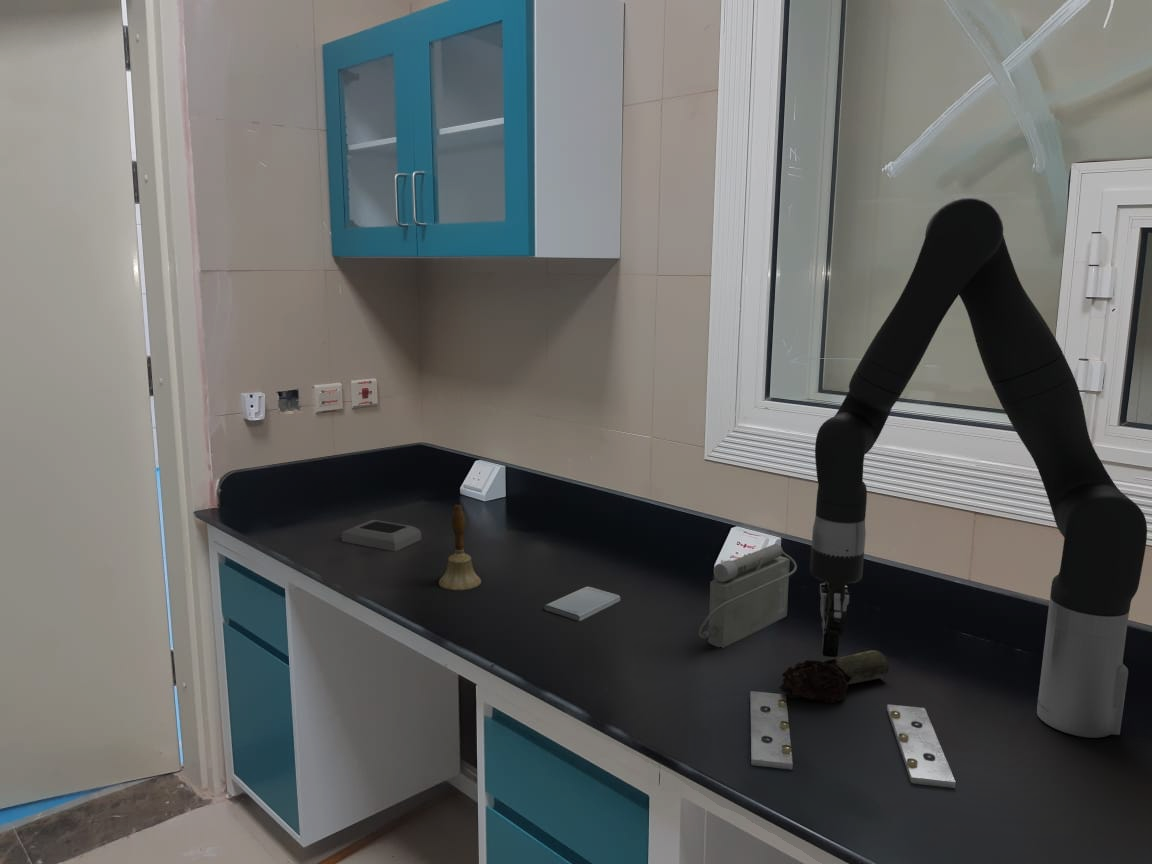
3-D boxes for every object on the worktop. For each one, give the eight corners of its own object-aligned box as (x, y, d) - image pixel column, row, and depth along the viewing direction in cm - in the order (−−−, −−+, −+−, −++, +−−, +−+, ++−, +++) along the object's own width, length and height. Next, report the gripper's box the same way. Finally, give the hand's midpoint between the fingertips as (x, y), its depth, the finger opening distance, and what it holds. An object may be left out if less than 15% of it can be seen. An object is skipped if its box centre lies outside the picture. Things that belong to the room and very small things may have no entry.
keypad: (369, 516, 201) (420, 525, 195) (369, 531, 202) (421, 541, 195) (341, 527, 193) (394, 537, 186) (342, 543, 193) (395, 553, 187)
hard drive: (579, 615, 150) (620, 594, 160) (544, 604, 155) (586, 584, 165) (579, 624, 150) (620, 603, 160) (544, 612, 155) (586, 592, 165)
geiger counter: (771, 536, 154) (685, 569, 137) (803, 544, 149) (717, 579, 132) (768, 609, 156) (683, 650, 139) (799, 619, 152) (714, 663, 135)
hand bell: (480, 590, 165) (479, 510, 162) (437, 591, 164) (435, 511, 161) (481, 575, 173) (480, 498, 170) (440, 576, 172) (438, 499, 169)
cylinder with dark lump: (863, 670, 133) (866, 637, 132) (897, 689, 127) (900, 654, 126) (774, 694, 125) (776, 658, 124) (805, 715, 119) (808, 678, 118)
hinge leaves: (924, 713, 120) (925, 705, 119) (955, 788, 102) (955, 779, 102) (750, 696, 124) (750, 688, 124) (751, 765, 107) (751, 756, 106)
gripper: (870, 562, 119) (860, 677, 123) (858, 534, 132) (850, 639, 135) (814, 558, 121) (806, 671, 124) (809, 530, 133) (801, 634, 137)
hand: (829, 654), depth 130 cm, fingers closed
